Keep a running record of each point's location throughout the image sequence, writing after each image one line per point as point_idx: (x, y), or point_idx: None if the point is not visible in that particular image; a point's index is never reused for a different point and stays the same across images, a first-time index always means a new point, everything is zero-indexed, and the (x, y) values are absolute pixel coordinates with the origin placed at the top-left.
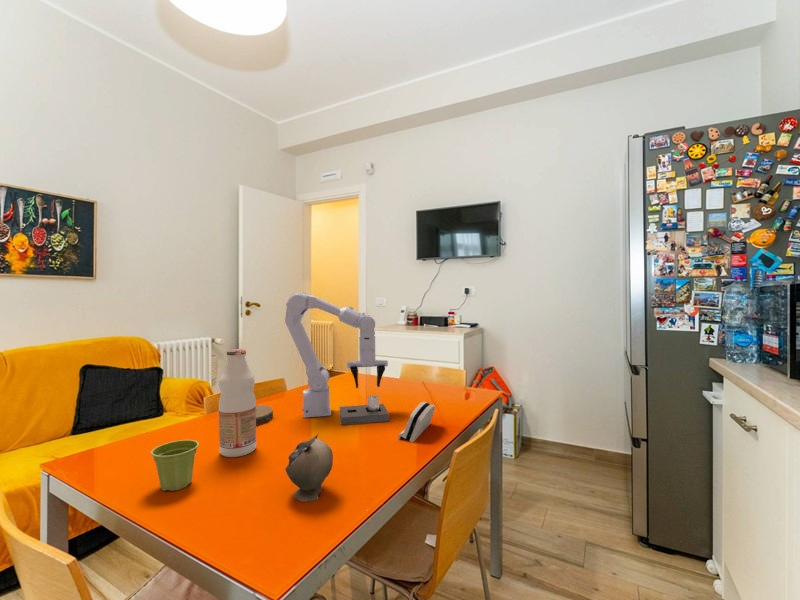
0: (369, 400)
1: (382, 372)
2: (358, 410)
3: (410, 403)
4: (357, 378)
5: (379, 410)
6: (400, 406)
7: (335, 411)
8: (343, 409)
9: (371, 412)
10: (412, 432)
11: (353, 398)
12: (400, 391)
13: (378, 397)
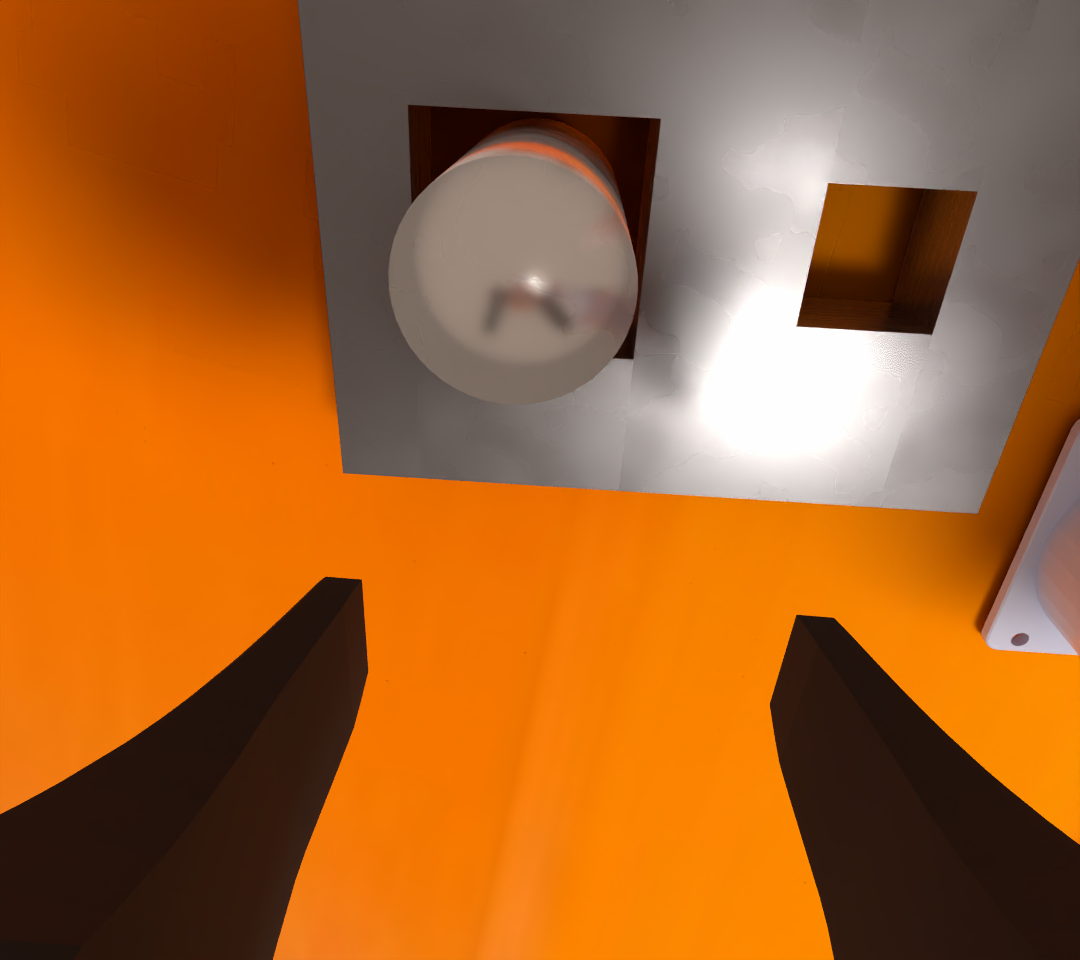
0: (615, 204)
1: (24, 823)
2: (773, 262)
3: (27, 582)
4: (910, 776)
5: None
6: (146, 517)
7: (946, 560)
8: (974, 380)
9: (592, 81)
10: None
11: (629, 860)
12: None
13: (409, 214)
